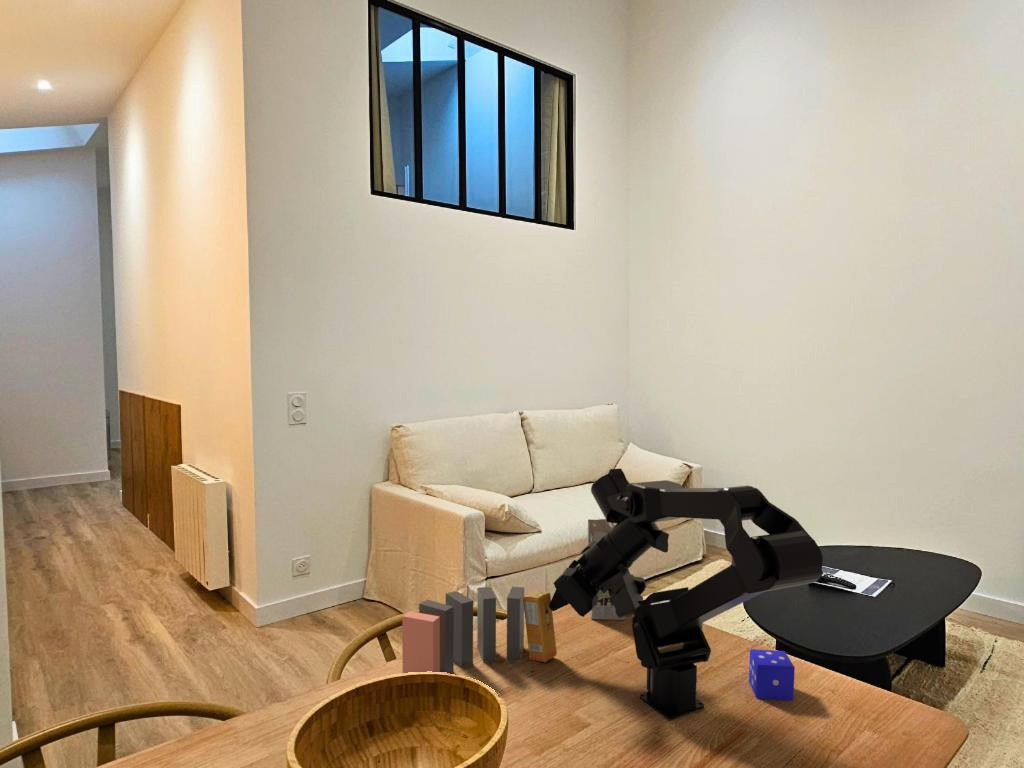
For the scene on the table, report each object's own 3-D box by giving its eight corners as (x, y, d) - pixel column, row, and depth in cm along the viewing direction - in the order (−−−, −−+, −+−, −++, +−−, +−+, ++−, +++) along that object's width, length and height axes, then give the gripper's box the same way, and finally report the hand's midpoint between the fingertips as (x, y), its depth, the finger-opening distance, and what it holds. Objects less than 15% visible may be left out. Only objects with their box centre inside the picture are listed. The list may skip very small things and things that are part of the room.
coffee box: (627, 620, 124) (628, 531, 123) (590, 620, 124) (592, 531, 123) (619, 601, 133) (621, 518, 132) (586, 600, 133) (587, 517, 132)
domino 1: (409, 677, 103) (409, 611, 102) (439, 683, 101) (439, 616, 100) (402, 683, 101) (402, 616, 100) (433, 690, 99) (433, 621, 98)
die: (756, 699, 97) (757, 664, 97) (748, 681, 102) (749, 648, 102) (793, 701, 96) (794, 666, 96) (784, 684, 101) (785, 650, 101)
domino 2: (427, 662, 107) (427, 599, 106) (453, 671, 104) (453, 606, 104) (419, 667, 105) (419, 603, 105) (445, 676, 103) (445, 610, 102)
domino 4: (489, 646, 113) (489, 586, 112) (495, 660, 108) (496, 598, 107) (477, 648, 112) (477, 587, 112) (483, 662, 107) (483, 599, 107)
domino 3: (456, 652, 111) (456, 590, 110) (473, 664, 107) (473, 600, 106) (445, 655, 110) (445, 593, 109) (461, 667, 106) (461, 603, 105)
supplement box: (540, 651, 111) (535, 589, 111) (557, 655, 109) (552, 592, 109) (527, 659, 109) (522, 595, 109) (544, 663, 106) (539, 598, 106)
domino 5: (523, 647, 113) (524, 587, 112) (519, 661, 108) (519, 598, 107) (511, 646, 113) (512, 586, 112) (506, 660, 108) (507, 597, 107)
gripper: (649, 611, 93) (570, 677, 98) (669, 568, 111) (600, 625, 115) (592, 547, 96) (517, 615, 100) (620, 515, 113) (555, 573, 118)
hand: (551, 608), depth 108 cm, fingers closed
